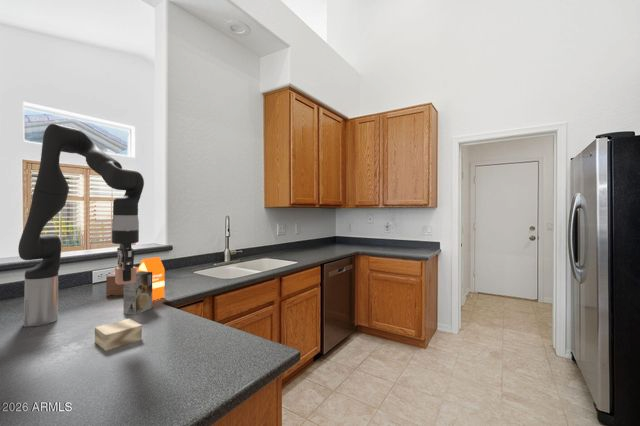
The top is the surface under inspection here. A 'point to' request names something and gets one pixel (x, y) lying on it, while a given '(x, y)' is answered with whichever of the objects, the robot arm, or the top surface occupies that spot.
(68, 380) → the top surface
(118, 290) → the tissue box cover
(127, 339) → the birch block
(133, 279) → the terracotta cube
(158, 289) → the orange juice
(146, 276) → the coffee box
